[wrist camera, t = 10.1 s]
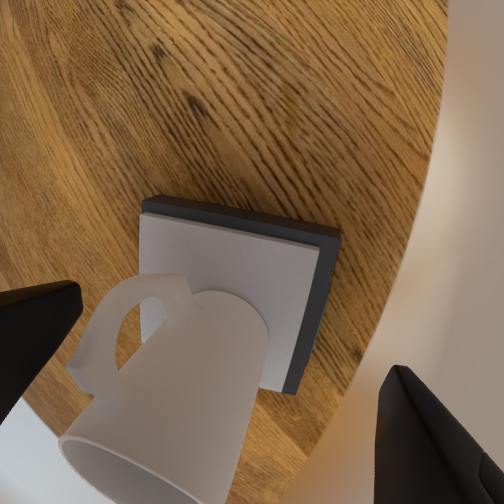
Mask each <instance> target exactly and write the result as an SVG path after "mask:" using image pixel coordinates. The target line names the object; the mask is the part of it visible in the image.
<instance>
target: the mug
mask: <svg viewBox="0 0 504 504" xmlns="http://www.w3.org/2000/svg"><path fill="white" fill-rule="evenodd" d="M150 297H155V298H157V299H159V300H160V301H161V302H162V304H163V306H164V308H165V311H166V314H167V318H166V319H165V321H164V322H163V323H162V324H161V325H160V326H159V327H158V328H157V329H156V330H155V332H154V333H153V334H152V335H151V336H150V337H149V338H148V339H147V340H146V342H145V343H144V344H143V345H142V346H141V347H140V348H139V349H138V350H137V351H136V352H135V354H134V355H133V356H132V357H131V358H130V359H129V360H128V361H127V362H126V363H125V365H124V366H123V367H122V368H121V369H120V370H119V371H118V368H117V365H116V359H115V348H116V341H117V336H118V332H119V330H120V327H121V324H122V322H123V320H124V318H125V317H126V315H127V314H128V312H129V311H130V310H131V309H132V308H133V307H134V306H135V305H136V304H138V303H139V302H141V301H143V300H145V299H147V298H150ZM268 345H269V335H268V330H267V327H266V324H265V322H264V320H263V319H262V317H261V315H260V314H259V313H258V312H257V311H256V309H255V308H254V307H252V306H251V305H250V304H249V303H248V302H246V301H245V300H243V299H241V298H240V297H238V296H235V295H233V294H230V293H227V292H223V291H214V290H211V291H202V292H198V293H196V294H193V295H192V293H191V290H190V287H189V283H188V280H187V278H186V277H185V276H184V275H182V274H178V273H175V274H141V275H136V276H133V277H130V278H128V279H126V280H124V281H122V282H120V283H119V284H117V285H116V286H114V287H113V288H112V289H111V290H110V291H109V292H108V293H107V294H106V295H105V296H104V298H103V299H102V300H101V302H100V303H99V305H98V306H97V308H96V309H95V311H94V313H93V315H92V316H91V318H90V320H89V322H88V324H87V326H86V328H85V331H84V333H83V335H82V338H81V340H80V342H79V345H78V347H77V349H76V352H75V353H74V355H73V357H72V358H71V359H70V360H69V361H68V362H67V364H66V365H65V368H66V370H67V371H68V372H69V374H70V375H71V376H72V377H73V379H74V380H75V382H76V384H77V385H78V387H79V388H80V389H81V390H82V391H83V392H86V393H89V394H93V395H94V397H95V398H94V399H93V400H92V401H91V402H90V403H89V404H88V406H87V407H86V408H85V409H84V410H83V411H82V412H81V414H80V415H79V416H78V417H77V418H76V419H75V421H74V422H73V423H72V424H71V425H70V427H69V428H68V429H67V431H66V432H65V433H64V434H63V435H62V436H61V437H60V438H59V441H58V445H59V448H60V451H61V453H62V455H63V457H64V458H65V460H66V461H67V463H68V464H69V465H70V466H71V467H72V469H73V470H74V471H75V472H76V473H77V474H78V475H79V476H80V477H81V478H82V479H83V480H84V481H86V482H87V483H88V484H89V485H90V486H91V487H93V488H94V489H95V490H97V491H98V492H99V493H100V494H102V495H103V496H105V497H106V498H108V499H109V500H111V501H112V502H114V503H116V504H225V501H226V498H227V496H228V493H229V490H230V487H231V484H232V481H233V477H234V474H235V471H236V467H237V464H238V460H239V457H240V453H241V450H242V446H243V443H244V439H245V435H246V432H247V428H248V425H249V421H250V417H251V414H252V410H253V406H254V402H255V399H256V395H257V391H258V388H259V384H260V380H261V376H262V372H263V367H264V363H265V358H266V354H267V350H268Z"/></svg>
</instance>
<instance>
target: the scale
mask: <svg viewBox="0 0 504 504" xmlns="http://www.w3.org/2000/svg"><path fill="white" fill-rule="evenodd" d="M341 240H342V239H341V234H340V230H339V229H338V228H333V227H328V226H324V225H319V224H315V223H310V222H305V221H300V220H295V219H290V218H286V217H281V216H276V215H271V214H266V213H260V212H255V211H250V210H245V209H239V208H234V207H229V206H223V205H218V204H212V203H207V202H201V201H195V200H189V199H184V198H178V197H172V196H166V195H156V196H153V197H150V198H147V199H145V200H142V214H140V230H139V275H141V274H175V273H178V274H182V275H184V276H185V277H186V278H187V280H188V283H189V287H190V290H191V293H192V295H193V294H196V293H198V292H202V291H211V290H214V291H223V292H227V293H230V294H233V295H235V296H238V297H240V298H241V299H243V300H245V301H246V302H248V303H249V304H250V305H251V306H252V307H254V308H255V309H256V311H257V312H258V313H259V314H260V315H261V317H262V319H263V320H264V322H265V324H266V327H267V330H268V335H269V345H268V350H267V354H266V358H265V363H264V367H263V372H262V376H261V380H260V384H259V388H263V389H268V390H272V391H277V392H281V393H286V394H291V395H296V392H297V389H298V387H299V384H300V381H301V378H302V375H303V372H304V369H305V366H307V363H308V360H309V357H310V354H311V352H312V349H313V346H314V343H315V340H316V337H317V334H318V330H319V327H320V324H321V320H322V317H323V314H324V310H325V307H326V304H327V300H328V295H329V291H330V288H331V279H332V276H333V272H334V268H335V264H336V260H337V256H338V252H339V248H340V244H341ZM166 318H167V314H166V311H165V308H164V306H163V304H162V302H161V301H160V300H159V299H157V298H155V297H150V298H147V299H145V300H143V301H141V302H140V323H141V341H142V345H143V344H144V343H145V342H146V340H147V339H148V338H149V337H150V336H151V335H152V334H153V333H154V332H155V330H156V329H157V328H158V327H159V326H160V325H161V324H162V323H163V322H164V321H165V319H166Z"/></svg>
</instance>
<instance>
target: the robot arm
mask: <svg viewBox="0 0 504 504" xmlns="http://www.w3.org/2000/svg"><path fill="white" fill-rule="evenodd" d="M82 312H83V301H82V294H81V287H80V285H79V284H78V283H77V282H74V281H71V280H63V281H58V282H52V283H47V284H42V285H36V286H31V287H26V288H20V289H15V290H10V291H4V292H0V425H1V424H2V422H3V421H4V419H5V418H6V417H7V415H8V414H9V412H10V411H11V409H12V408H13V407H14V405H15V404H16V403H17V401H18V400H19V398H20V397H21V396H22V394H23V393H24V392H25V390H26V389H27V388H28V386H29V385H30V384H31V382H32V381H33V380H34V378H35V377H36V376H37V375H38V373H39V372H40V371H41V369H42V368H43V367H44V366H45V364H46V363H47V362H48V361H49V359H50V358H51V357H52V356H53V354H54V353H55V352H56V350H57V349H58V348H59V346H60V345H61V344H62V342H63V341H64V339H65V337H66V336H67V335H68V333H69V332H70V330H71V329H72V327H73V326H74V324H75V323H76V321H77V320H78V318H79V317H80V316H81V314H82ZM376 426H377V427H376V436H375V478H374V480H375V481H374V504H504V473H503V471H501V469H500V468H499V467H498V466H497V465H496V464H495V462H494V461H493V460H492V459H491V458H490V457H489V456H488V454H487V453H486V452H483V451H484V450H483V449H482V448H481V446H480V445H479V444H478V443H477V442H476V441H475V440H474V438H473V437H472V436H471V435H470V434H469V433H468V432H467V431H466V429H465V428H464V427H463V426H462V425H461V424H460V423H459V422H458V420H457V419H456V418H455V417H454V416H453V415H452V414H451V413H450V412H449V410H447V408H446V407H445V406H444V405H443V404H442V403H441V402H440V401H439V399H438V398H437V397H436V396H435V395H434V394H433V393H432V392H431V391H430V390H429V389H428V388H427V386H426V385H425V384H424V383H423V382H422V381H421V380H420V379H419V378H418V377H417V376H416V375H415V374H414V372H413V371H412V370H411V369H410V368H409V367H407V366H401V365H394V366H393V367H392V368H391V369H390V371H389V373H388V375H387V377H386V379H385V380H384V382H383V384H382V386H381V388H380V392H379V400H378V413H377V425H376Z"/></svg>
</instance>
